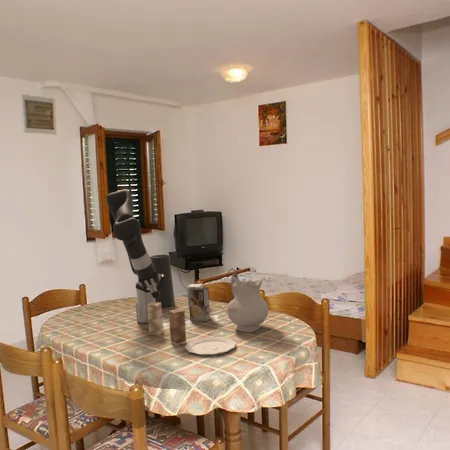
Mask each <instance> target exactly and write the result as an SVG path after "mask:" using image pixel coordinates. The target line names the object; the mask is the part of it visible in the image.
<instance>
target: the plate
mask: <svg viewBox="0 0 450 450" xmlns="http://www.w3.org/2000/svg"><path fill="white" fill-rule="evenodd" d="M236 344H237V342H236V341H235V340H233V339H232V338H229V337H223V336H205V337H201V338H200V337H199V338H195V339H193V340H191V341H189V342H186V345H185V346H184V349H185V350H187V351H188V352H189V353H192V354H196V355H201V356H215V355H221V354H225V353H226V352H230V351H231V350H232V349H233V350H234V348H236Z"/></svg>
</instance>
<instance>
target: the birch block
mask: <svg viewBox="0 0 450 450" xmlns="http://www.w3.org/2000/svg"><path fill="white" fill-rule="evenodd" d="M162 309H163V308H162V307H161V302H151V303H149V304H148V305H147V310H148V323H147V324H148V335H149V336H160V335H161V334H162V333H163V332H164V327H163V326H164V325H163V314H162V313H163V311H162Z"/></svg>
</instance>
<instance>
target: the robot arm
mask: <svg viewBox="0 0 450 450" xmlns="http://www.w3.org/2000/svg"><path fill="white" fill-rule="evenodd" d="M105 199H106V203H107V204H106V205H107V207H108V208H109V211H110V213H111V215H112V217H113V220H114V223H113V225H112V232H113V233H112V234H113V235H114V237H115V238H116V239H117V240H118V241H121V242H122V243H123V246H124V248H125V251H126V253H127V257H128V261H129V266H130V268H131V271H132V273H133V274H134V275H136V276H137V278H138V279H137V282H136V283H135V289H136V290H135V291H136V293H135V294H136V302H135V311H136V314H135V315H136V322H139V323H140V324H148V310H147V305H148V304H149V303H151V302H155V299H158V298H159V297H160V294H159V291H158V289H160V288H161V285H162V283H163V280H164V274H158V272H157V271H156V270H155V268H154V261H153V258H152V257H151V255H149V253H148V251H147V249H146V247H145V244H144V242H143V237H142V236H143V235H142V229H141V228H142V227H141V223H140V221H139V220H138V219H137V217H134V213H133V212H134V204H135V203H134V199H133V196H132V194H131V192H130V191H129V190H128V189H127V188H126V189H121V190H117V191H114V192H110V193H109V194H108V193H107V195H106V198H105ZM158 277H159V282H158V285H156V281H157V278H158Z"/></svg>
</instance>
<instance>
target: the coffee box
mask: <svg viewBox="0 0 450 450" xmlns="http://www.w3.org/2000/svg"><path fill="white" fill-rule="evenodd" d="M209 293H210V291H209V287H207V286H206V287H205V286H204V287H192V288H190V289H188V292H187V297H188V296H189V306H188V309H189V310H188V311H189V320H190V321H194V322H195V321H198V322H207V321H208V320H210V319H211V307H210V297H209V296H210V294H209Z"/></svg>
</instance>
